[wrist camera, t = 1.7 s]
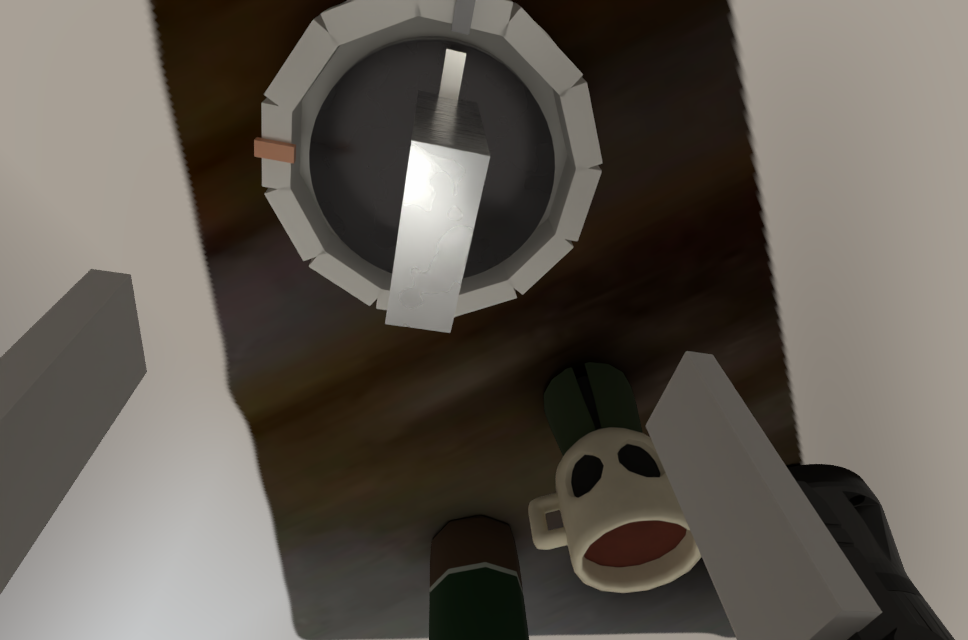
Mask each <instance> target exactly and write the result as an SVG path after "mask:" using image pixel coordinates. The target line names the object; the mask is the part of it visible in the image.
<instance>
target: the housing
mask: <svg viewBox="0 0 968 640" xmlns="http://www.w3.org/2000/svg"><path fill="white" fill-rule="evenodd" d="M320 14H321V15H319V16H318V17H316V18H314V19H313V20H312V22H311V23H310V25H309V26H308V28H307V30H306V31H305V33H304V34H303V36H302V37H301V39H300V40H299V42H298V43H297V45H296V46H295V48H294V49H293V51H292V52H291V54H290V55H289V57H288V58H287V60H286V62H285V63H284V65H283V66H282V68H281V69H280V71H279V72H278V74H277V75H276V77H275V78H274V80H273V81H272V83H271V84H270V86H269V87H268V89H267V90H266V92H265V94H264V95H265V96H266V97H267V98H266V99H265V100H264V101H263V102H262V138H259V137H256V139H255V140H254V156H255V157H260V158H262V186H263V187H269V188H268V189H267V191H266V192H265V196H266V198H267V199H268V201H269V203H270V205H271V206H272V208H273V210H274V211H275V213H276V215H277V217H278V218H279V220H280V222H281V223H282V225H283V227H284V229H285V230H286V232H287V234H288V235H289V237H290V239H291V241H292V242H293V244H294V246H295V247H296V249H297V251H298V253H299V254H300V256H301V258H302V259H303V261H305V260H308V259H311V258H312V259H311V262H310V264H309V267H310V268H312V269H313V270H315V271H316V272H318V273H320V274H321V275H323V276H324V277H326V278H327V279H329V280H330V281H332V282H333V283H335V284H336V285H338V286H340V287H341V288H343V289H344V290H346V291H347V292H349V293H350V294H352V295H353V296H355V297H356V298H358V299H359V300H361V301H363V302H364V303H366V304H367V305H369V306H370V305H371V304H372V303H373V302H374V301H375V300H376V299H377V306H376V309H383V310H387V307H388V300H389V293H390V286H391V279H392V273H389V272H386V271H384V270H382V269H380V268H378V267H376V266H374V265H372V264H371V263H369V262H367V261H366V260H364V259H363V258H361V257H360V256H359V255H357V254H356V253H355V252H354V251H352V250H351V249H350V248H349V247H348V246H347V245H346V244H345V243H344V242H343V241H342V240H341V239H340V238H339V237H338V235H337V234H336V233H335V232H334V230H333V229H332V228H331V226H330V225H329V223H328V221H327V220H326V218H325V216H324V215H323V213H322V211H321V208H320V206H319V204H318V202H317V199H316V196H315V193H314V190H313V186H312V181H311V175H310V169H309V149H310V140H311V135H312V131H313V127H314V123H315V120H316V117H317V115H318V113H319V110H320V108H321V106H322V104H323V102H324V101H325V99H326V97H327V96H328V94H329V92H330V91H331V89H332V88H333V87H334V85H335V84H336V83H337V81H338V80H339V79H340V78H341V77H342V75H343V74H344V73H345V72H346V71H347V70H348V69H349V68H350V67H351V66H352V65H353V64H354V63H356V62H357V61H358V60H359V59H360V58H362V57H363V56H365V55H367V54H368V53H370V52H371V51H373V50H375V49H377V48H379V47H381V46H383V45H386V44H388V43H391V42H394V41H398V40H401V39H405V38H412V37H420V36H440V37H446V38H452V39H457V40H461V41H464V42H467V43H470V44H473V45H475V46H477V47H480V48H482V49H484V50H486V51H488V52H490V53H491V54H493V55H494V56H496V57H497V58H499V59H500V60H502V61H503V62H504V63H505V64H506V65H508V66H509V67H510V68H511V69H512V70H513V71H514V72H515V73H516V74H517V75H518V76H519V77H520V78H521V80H522V81H523V82H524V83H525V84H526V86H527V87H528V89H529V90H530V92H531V93H532V95H533V96H534V98H535V100H536V101H537V103H538V104H539V106H540V108H541V110H542V112H543V114H544V116H545V119H546V121H547V124H548V127H549V130H550V133H551V136H552V141H553V147H554V154H555V174H554V184H553V188H552V193H551V197H550V200H549V203H548V206H547V208H546V211H545V213H544V215H543V217H542V219H541V221H540V223H539V225H538V226H537V228H536V229H535V230H534V232H533V233H532V235H531V236H530V237H529V239H528V240H527V241H526V242H525V243H524V244H523V245H522V246H521V247H520V248H519V249H518V250H517V251H516V252H515V253H513V254H512V255H511V256H510V257H509V258H507V259H506V260H504V261H503V262H501V263H500V264H498V265H496V266H494V267H492V268H490V269H489V270H487V271H484V272H482V273H479V274H476V275H474V276H470V277H466V278H463V279H462V283H461V288H460V292H459V297H458V301H457V305H456V310H455V314H454V317H456V316H459V315H462V314H466V313H469V312H472V311H476V310H479V309H482V308H486V307H489V306H492V305H495V304H499V303H502V302H505V301H509V300H512V299H515V298H517V296H516V292H515V289H516V290H517V291H519V292H520V293H521V294H522V295H523V294H524V293H525V292H526V291H527V290H528V289H529V288H530V287H532V286H533V285H534V284H535V283H536V282H537V281H538V280H539V279H540V278H541V277H542V276H543V275H544V274H546V273H547V272H548V271H549V270H550V269H551V268H552V267H553V266H554V265H555V264H556V263H557V262H558V261H560V260H561V259H562V258H563V257H564V256H565V255H566V254H567V253H568V252H569V251H570V250H571V249H572V248H574V247H573V244H572V242H571V240H572V241H578V239H579V236H580V233H581V230H582V227H583V224H584V222H585V219H586V216H587V213H588V210H589V207H590V204H591V201H592V198H593V196H594V193H595V190H596V187H597V184H598V181H599V178H600V175H601V172H602V170H601V169H600V167H599V166H598V165H599V164H602V157H601V152H600V147H599V142H598V137H597V131H596V126H595V121H594V116H593V111H592V106H591V100H590V95H589V90H588V85H587V82H586V81H585V80H584V79H583V78H582V77H581V76H582V75H583V74H582V73H581V72H580V71H579V69H578V68H577V67H576V66H575V65H574V64H573V63H572V62H571V61H570V60H569V59H568V57H567V56H566V55H565V54H564V53H563V52H562V51H561V50H560V49H559V48H558V46H557V45H556V44H555V43H554V41H553V40H552V39H551V38H550V36H549V35H548V34H547V33H546V32H545V31H544V30H543V29H542V28H541V27H540V26H539V25H538V24H537V23H536V22H535V21H534V20H533V19H532V18H531V17H530V16H529V15H528V14H527V13H526V12H525V11H524V10H523V8H522V7H520V6H519V5H518V4H517V3H514V4H513V2H512V1H511V0H347V1H345V2H344V3H341V4H339V5H336V6H334V7H331V8H329V9H327V10H325V11H324V12H322V13H320Z"/></svg>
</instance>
